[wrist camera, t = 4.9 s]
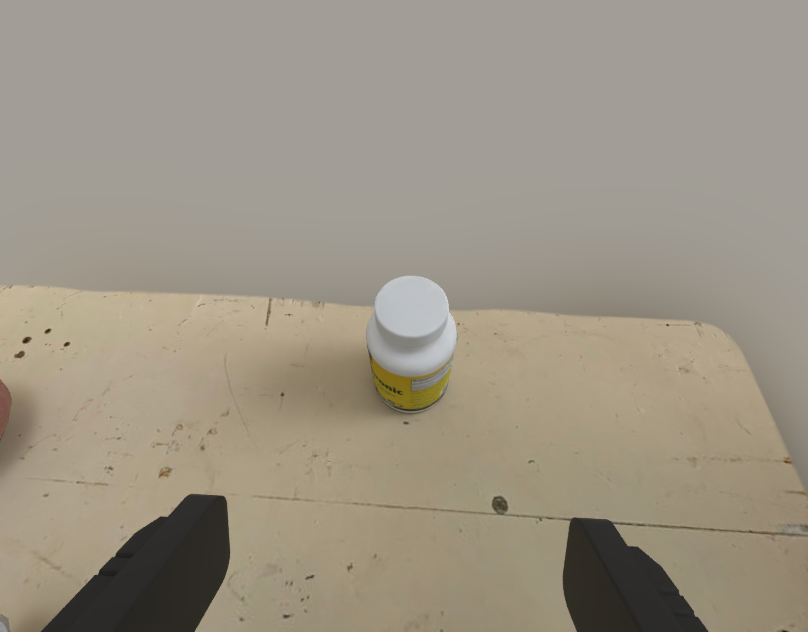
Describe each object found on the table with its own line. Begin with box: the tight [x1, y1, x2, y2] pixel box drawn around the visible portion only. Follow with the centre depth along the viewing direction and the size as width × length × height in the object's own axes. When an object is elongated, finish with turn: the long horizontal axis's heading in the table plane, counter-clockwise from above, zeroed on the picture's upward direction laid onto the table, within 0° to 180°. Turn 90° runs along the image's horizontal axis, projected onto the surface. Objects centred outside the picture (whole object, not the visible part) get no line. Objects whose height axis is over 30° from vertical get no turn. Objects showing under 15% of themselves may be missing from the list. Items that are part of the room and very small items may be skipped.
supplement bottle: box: [366, 276, 457, 413], centre depth 25 cm, size 5×5×10 cm
